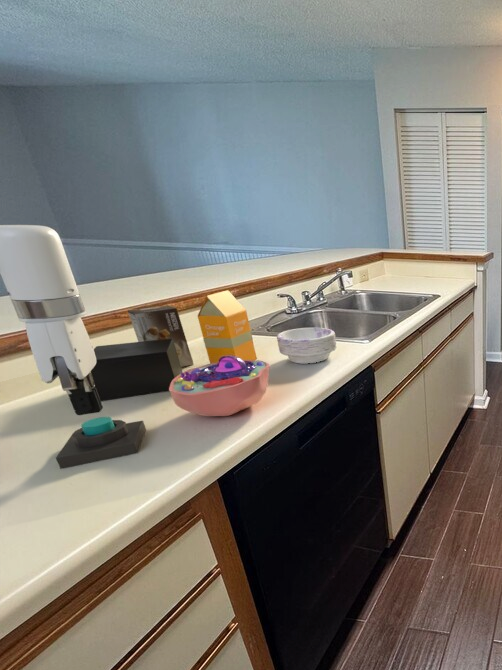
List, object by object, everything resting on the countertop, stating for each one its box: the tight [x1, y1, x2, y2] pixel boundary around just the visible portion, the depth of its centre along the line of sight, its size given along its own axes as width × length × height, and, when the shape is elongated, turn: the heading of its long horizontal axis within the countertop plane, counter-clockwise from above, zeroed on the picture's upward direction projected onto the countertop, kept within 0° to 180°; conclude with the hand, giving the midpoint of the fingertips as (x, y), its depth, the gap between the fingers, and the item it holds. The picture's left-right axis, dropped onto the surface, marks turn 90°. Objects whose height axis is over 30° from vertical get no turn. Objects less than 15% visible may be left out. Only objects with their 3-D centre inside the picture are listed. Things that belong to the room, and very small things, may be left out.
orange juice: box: [197, 289, 258, 364], centre depth 116 cm, size 8×9×20 cm
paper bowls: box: [276, 327, 337, 365], centre depth 122 cm, size 15×15×8 cm
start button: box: [80, 416, 115, 435], centre depth 75 cm, size 4×4×2 cm
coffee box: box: [127, 304, 194, 368], centre depth 113 cm, size 9×6×16 cm
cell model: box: [168, 355, 270, 417], centre depth 90 cm, size 17×20×11 cm
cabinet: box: [91, 338, 184, 402], centre depth 101 cm, size 15×13×10 cm
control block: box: [55, 419, 147, 470], centre depth 76 cm, size 10×10×4 cm
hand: (90, 411), depth 74 cm, fingers closed
